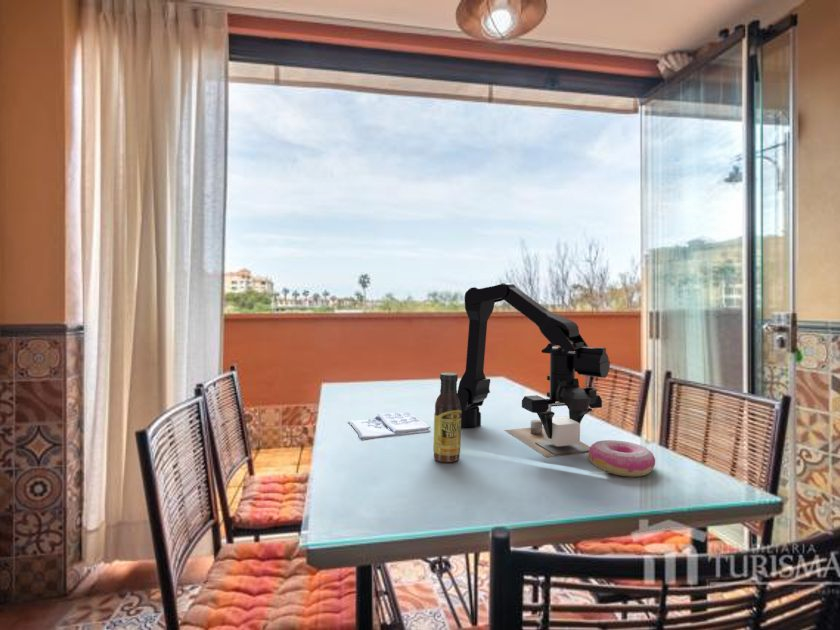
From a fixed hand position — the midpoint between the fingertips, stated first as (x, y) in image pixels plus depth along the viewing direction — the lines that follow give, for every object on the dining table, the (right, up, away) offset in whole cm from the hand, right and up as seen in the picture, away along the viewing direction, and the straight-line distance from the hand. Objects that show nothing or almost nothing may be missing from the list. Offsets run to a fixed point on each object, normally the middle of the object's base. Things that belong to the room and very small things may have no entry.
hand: (561, 437), depth 115 cm
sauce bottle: (-28, -4, -5) cm, 28 cm away
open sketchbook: (-44, -3, +22) cm, 49 cm away
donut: (+10, -4, -11) cm, 15 cm away
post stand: (-2, -3, +6) cm, 7 cm away
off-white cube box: (0, -1, 0) cm, 1 cm away
